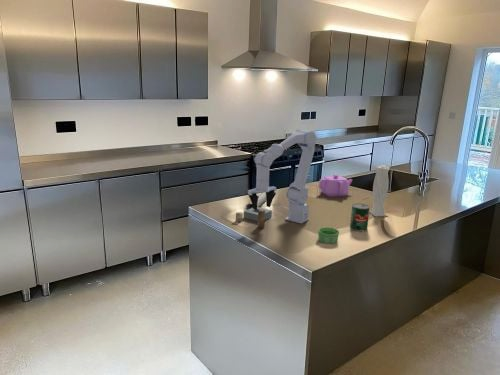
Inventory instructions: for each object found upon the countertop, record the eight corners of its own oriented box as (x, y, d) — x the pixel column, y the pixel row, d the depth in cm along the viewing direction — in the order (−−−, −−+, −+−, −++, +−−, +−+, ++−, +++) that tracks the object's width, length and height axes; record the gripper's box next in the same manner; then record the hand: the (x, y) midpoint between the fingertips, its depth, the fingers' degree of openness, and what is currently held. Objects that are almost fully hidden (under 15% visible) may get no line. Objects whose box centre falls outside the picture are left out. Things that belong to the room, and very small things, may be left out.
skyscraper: (389, 217, 191) (396, 164, 184) (374, 218, 190) (380, 164, 183) (381, 212, 199) (387, 161, 192) (366, 212, 198) (372, 161, 191)
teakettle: (316, 194, 230) (318, 175, 226) (325, 189, 244) (327, 170, 241) (343, 199, 221) (345, 179, 218) (351, 193, 236) (353, 174, 232)
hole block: (271, 217, 187) (271, 210, 186) (260, 222, 180) (260, 215, 179) (255, 212, 193) (255, 206, 192) (243, 217, 185) (243, 211, 184)
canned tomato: (357, 232, 171) (359, 209, 168) (346, 226, 177) (348, 204, 175) (370, 229, 174) (373, 207, 171) (359, 224, 181) (362, 202, 178)
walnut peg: (265, 227, 174) (266, 210, 172) (261, 228, 171) (262, 212, 169) (260, 225, 176) (260, 209, 173) (256, 227, 173) (256, 211, 171)
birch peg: (243, 220, 181) (243, 213, 180) (239, 222, 179) (239, 214, 178) (238, 219, 183) (238, 211, 182) (234, 221, 180) (234, 213, 179)
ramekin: (318, 235, 166) (319, 226, 165) (339, 237, 163) (340, 228, 162) (316, 242, 158) (316, 233, 156) (337, 245, 155) (338, 236, 154)
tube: (258, 192, 217) (244, 204, 194) (267, 190, 215) (253, 202, 192) (261, 201, 218) (247, 213, 195) (269, 199, 216) (256, 211, 193)
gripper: (254, 183, 160) (253, 212, 164) (280, 179, 168) (279, 207, 172) (245, 179, 166) (244, 208, 170) (271, 176, 174) (270, 203, 177)
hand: (261, 207), depth 171 cm, fingers open, 7 cm apart
